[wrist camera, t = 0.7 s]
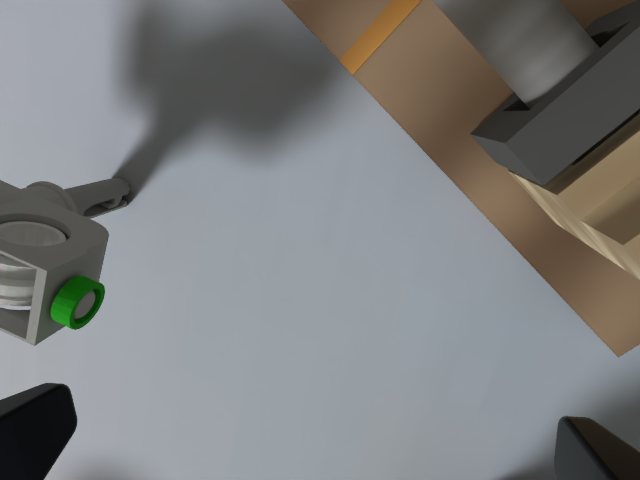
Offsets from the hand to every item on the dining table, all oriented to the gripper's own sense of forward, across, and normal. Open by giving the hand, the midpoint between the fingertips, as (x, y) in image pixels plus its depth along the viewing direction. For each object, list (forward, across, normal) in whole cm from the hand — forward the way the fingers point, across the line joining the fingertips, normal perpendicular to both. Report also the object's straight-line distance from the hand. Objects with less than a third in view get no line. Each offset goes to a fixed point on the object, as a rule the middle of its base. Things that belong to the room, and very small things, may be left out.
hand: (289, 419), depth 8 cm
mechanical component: (+14, +12, -2) cm, 19 cm away
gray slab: (+12, -7, -6) cm, 15 cm away
